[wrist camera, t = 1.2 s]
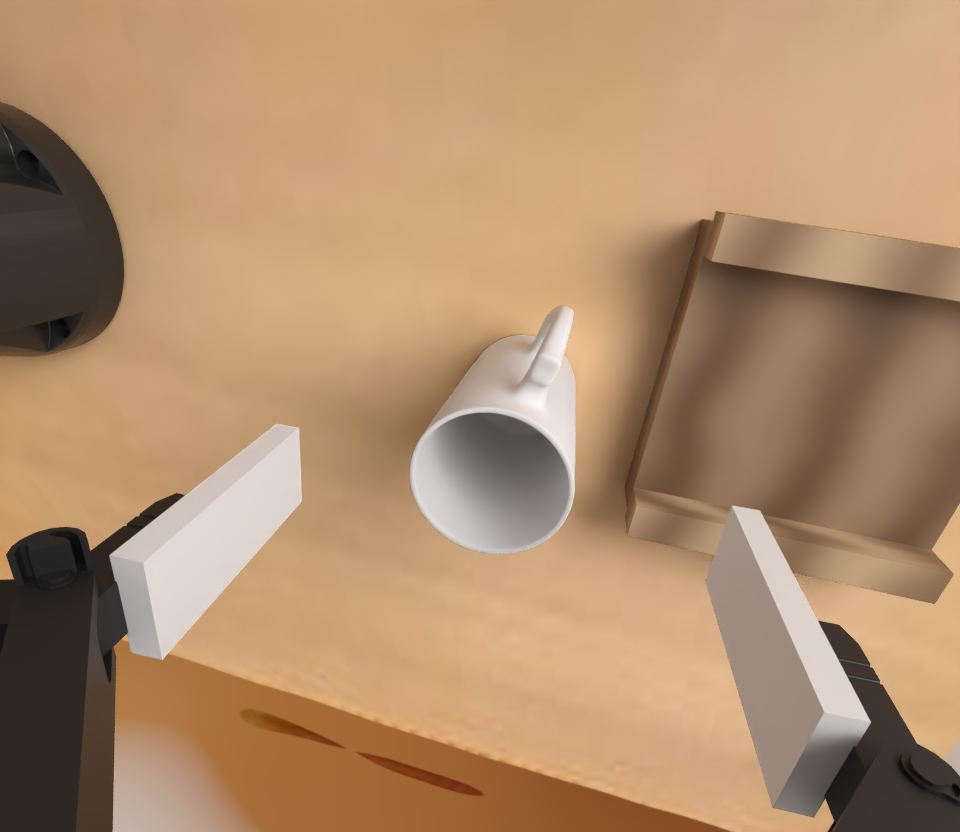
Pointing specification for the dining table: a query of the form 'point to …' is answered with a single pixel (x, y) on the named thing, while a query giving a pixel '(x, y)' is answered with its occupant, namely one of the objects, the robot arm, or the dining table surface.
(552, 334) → the mug
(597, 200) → the dining table surface
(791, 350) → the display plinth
